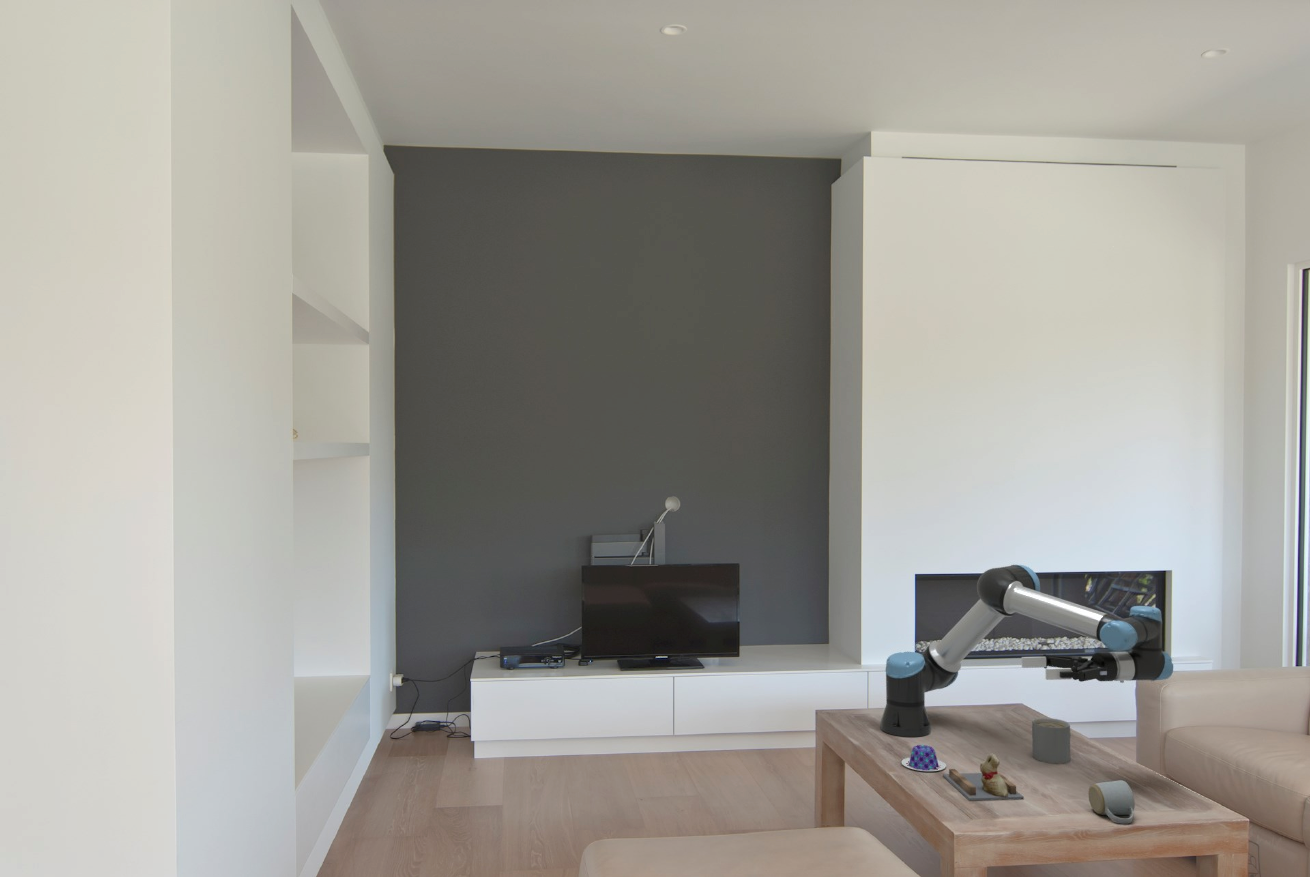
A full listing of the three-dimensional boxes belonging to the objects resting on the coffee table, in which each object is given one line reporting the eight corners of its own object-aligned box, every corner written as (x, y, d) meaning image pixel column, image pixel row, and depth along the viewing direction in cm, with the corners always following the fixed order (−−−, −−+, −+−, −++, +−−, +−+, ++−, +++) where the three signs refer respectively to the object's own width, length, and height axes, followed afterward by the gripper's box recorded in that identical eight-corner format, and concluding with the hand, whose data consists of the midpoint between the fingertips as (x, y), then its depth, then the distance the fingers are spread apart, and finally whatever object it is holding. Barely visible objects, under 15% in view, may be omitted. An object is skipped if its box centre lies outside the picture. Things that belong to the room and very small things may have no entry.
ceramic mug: (1086, 808, 232) (1086, 776, 232) (1118, 807, 233) (1118, 775, 232) (1110, 826, 221) (1110, 793, 221) (1143, 824, 222) (1143, 792, 222)
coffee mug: (1051, 765, 263) (1051, 729, 263) (1024, 755, 272) (1024, 720, 273) (1087, 759, 269) (1086, 723, 269) (1059, 749, 278) (1059, 714, 278)
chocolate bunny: (1000, 786, 245) (999, 747, 246) (1010, 797, 238) (1010, 757, 238) (978, 786, 246) (978, 747, 246) (988, 797, 238) (987, 757, 238)
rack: (949, 776, 253) (949, 768, 253) (992, 775, 254) (992, 767, 254) (970, 795, 239) (970, 787, 239) (1016, 794, 240) (1016, 786, 240)
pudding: (895, 760, 270) (895, 741, 270) (937, 759, 270) (937, 740, 270) (909, 774, 258) (909, 755, 258) (952, 773, 258) (952, 754, 258)
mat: (942, 776, 255) (942, 774, 255) (993, 774, 256) (993, 772, 256) (969, 800, 237) (969, 798, 237) (1023, 799, 238) (1023, 796, 238)
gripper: (1138, 692, 240) (1057, 694, 238) (1087, 669, 265) (1013, 671, 263) (1138, 663, 240) (1056, 664, 238) (1086, 643, 265) (1013, 644, 263)
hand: (1033, 668), depth 251 cm, fingers open, 13 cm apart
